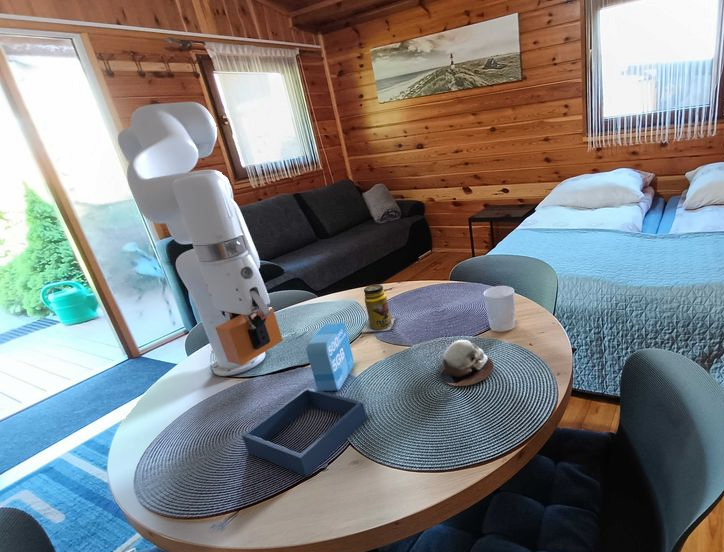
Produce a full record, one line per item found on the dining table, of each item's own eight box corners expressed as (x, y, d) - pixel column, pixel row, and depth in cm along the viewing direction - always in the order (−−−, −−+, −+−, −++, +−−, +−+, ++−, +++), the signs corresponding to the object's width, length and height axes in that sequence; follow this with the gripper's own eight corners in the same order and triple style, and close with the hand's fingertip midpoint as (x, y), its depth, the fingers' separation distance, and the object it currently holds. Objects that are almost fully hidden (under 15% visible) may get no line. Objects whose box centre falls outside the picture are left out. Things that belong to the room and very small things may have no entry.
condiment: (390, 330, 121) (382, 290, 116) (360, 333, 121) (351, 293, 117) (395, 318, 127) (387, 281, 123) (367, 321, 128) (358, 284, 124)
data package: (338, 393, 95) (325, 345, 90) (318, 394, 95) (304, 347, 91) (354, 363, 106) (344, 319, 101) (337, 364, 106) (325, 321, 102)
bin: (248, 452, 80) (241, 435, 79) (311, 402, 93) (306, 387, 91) (306, 476, 73) (300, 458, 71) (367, 418, 85) (362, 402, 84)
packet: (227, 361, 78) (214, 327, 75) (269, 337, 85) (258, 305, 82) (242, 365, 76) (229, 330, 73) (283, 340, 83) (272, 307, 80)
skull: (472, 345, 105) (485, 326, 96) (492, 383, 101) (507, 367, 93) (428, 361, 99) (438, 343, 91) (447, 403, 95) (459, 388, 87)
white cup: (504, 316, 120) (501, 283, 116) (523, 325, 114) (520, 290, 110) (481, 326, 116) (477, 292, 112) (500, 336, 110) (496, 300, 106)
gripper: (273, 244, 72) (301, 340, 79) (212, 241, 80) (242, 328, 87) (232, 259, 66) (267, 362, 73) (171, 254, 74) (207, 347, 81)
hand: (253, 342), depth 80 cm, fingers closed on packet, 4 cm apart
